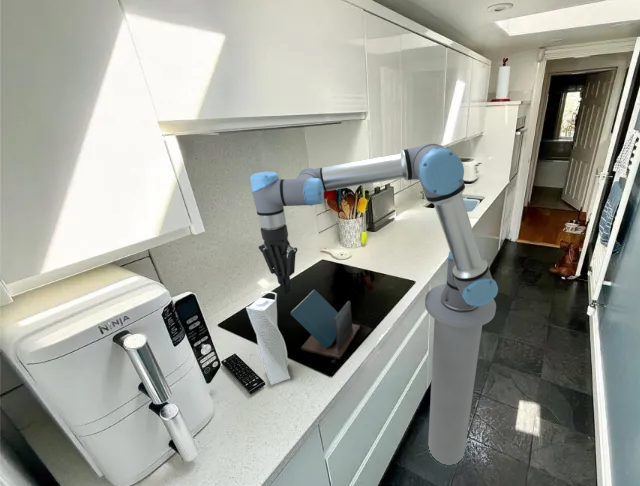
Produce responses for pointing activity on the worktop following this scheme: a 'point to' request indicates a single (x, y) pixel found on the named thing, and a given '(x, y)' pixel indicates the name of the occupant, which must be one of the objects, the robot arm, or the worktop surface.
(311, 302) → the book
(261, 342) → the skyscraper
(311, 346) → the book rest
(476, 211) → the worktop surface
